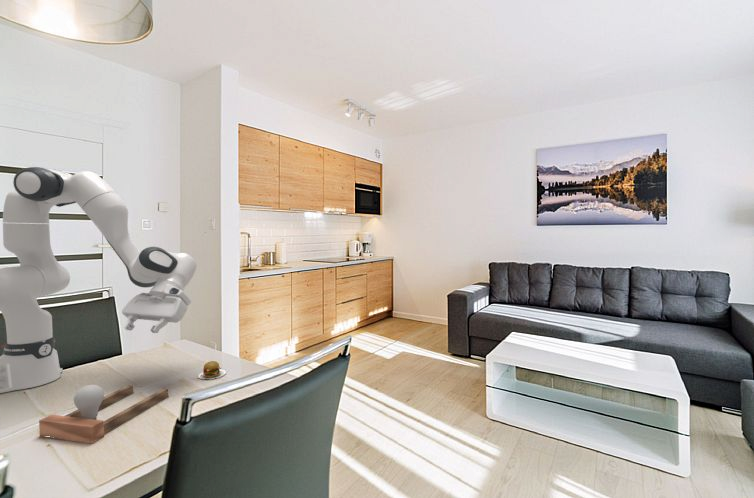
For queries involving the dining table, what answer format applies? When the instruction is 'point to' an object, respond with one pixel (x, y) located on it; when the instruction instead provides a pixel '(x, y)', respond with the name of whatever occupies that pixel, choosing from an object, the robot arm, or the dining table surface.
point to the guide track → (92, 429)
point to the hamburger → (211, 370)
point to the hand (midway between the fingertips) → (140, 330)
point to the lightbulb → (89, 401)
